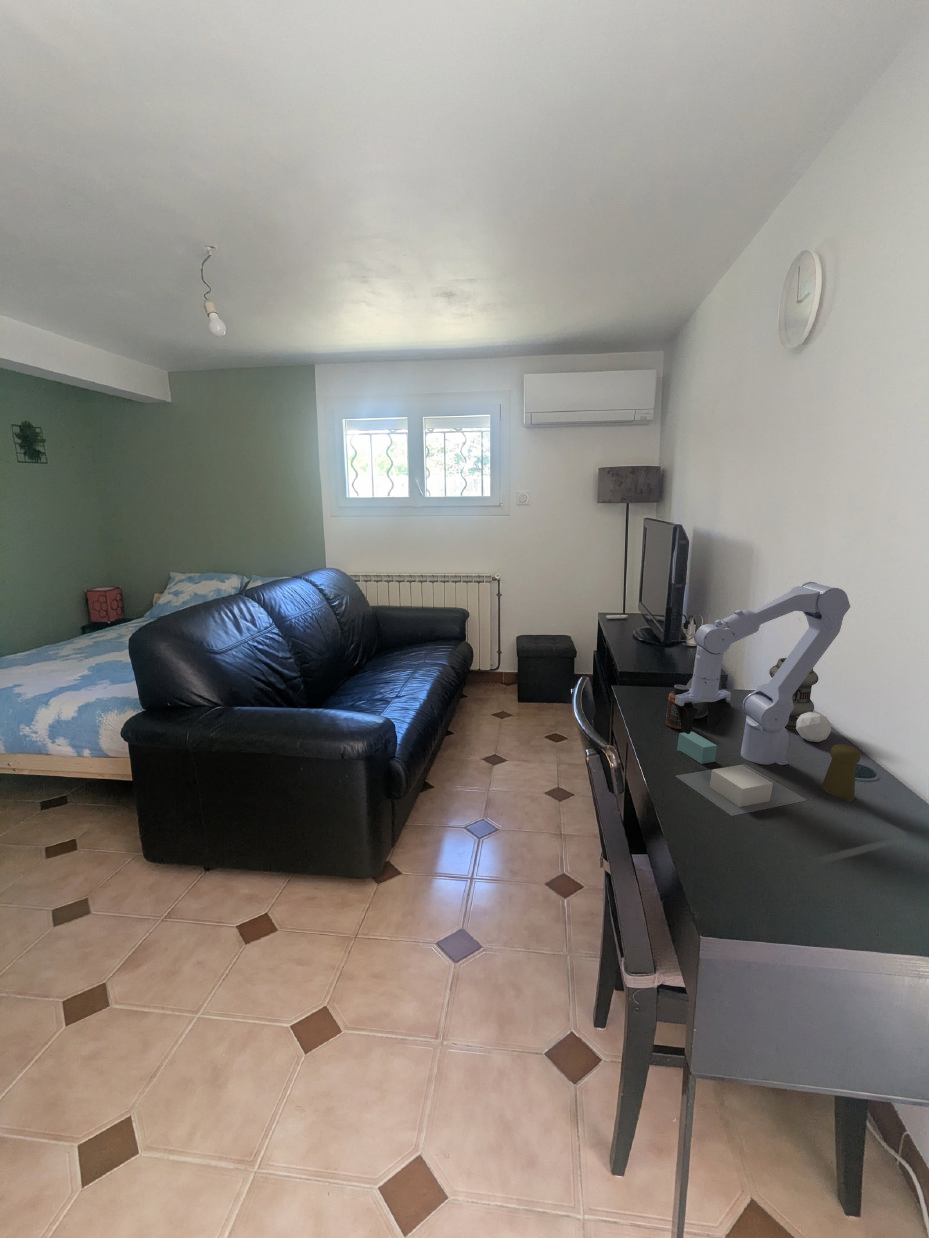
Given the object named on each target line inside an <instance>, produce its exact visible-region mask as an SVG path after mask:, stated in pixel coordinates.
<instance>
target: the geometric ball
mask: <svg viewBox="0 0 929 1238" xmlns="http://www.w3.org/2000/svg"><path fill="white" fill-rule="evenodd" d="M831 729H832V723H831V722H830V720H829V719H828V717H827V716H825V715H824V714H822V713H820V712H818V711H813V712H807V713H804V714H801V715H800V716H799V717H798V720H797V722H796V729H795V730H796V731H797V732H798V734H799V736H800V737H801V738H803V739H805V740H806V741H808V742H812V743H814V742H815V743H820V742H823V741H824V740H827V739H828V737H829V735H830V734H831V731H832V730H831Z"/></svg>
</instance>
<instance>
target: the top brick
mask: <svg viewBox="0 0 929 1238" xmlns="http://www.w3.org/2000/svg"><path fill="white" fill-rule="evenodd" d="M717 748H718V745H717V744H715V743H714V742H712V741H710V740H709V739H706V738H705V737H703V736H701V735H699V734H697V733H696V732H694V731H691V732H690V734H686V733H685V732H679V733H678V740H677V749H676V752H678V751H679V752H682V753H683V754H685V755H686V756H688V757H689V758H691V759H693V760H694V761H696V762H698V763H699V764H700V765H702V764H708V763H713V762H714V763H715V761H716V754H717Z"/></svg>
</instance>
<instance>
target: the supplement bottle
mask: <svg viewBox="0 0 929 1238" xmlns="http://www.w3.org/2000/svg"><path fill="white" fill-rule="evenodd" d="M689 689H690V688H689V687H688V686H686V685H685V684H674V686H673V691H671V692H670V693H669V694H668V698H667V699H668V700H667V709H666V714H665V715H666V717H665V725H666V726H667V727H670V728H672V729H675V730H682V729H681V722H680V717H679V714H678V711H677V708H676V706H675V698H676V695H680V694H683V693H686V692H689Z"/></svg>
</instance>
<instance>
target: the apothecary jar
mask: <svg viewBox="0 0 929 1238" xmlns="http://www.w3.org/2000/svg"><path fill="white" fill-rule="evenodd" d="M786 658H787V657H780V658H778V660H777V662H776V664H775V665H773V666H772V667H771V668H770V669H769V670H768V673H769V676H770V677H771V679H772V678H773V676H774V675H775V673H776V672H777V671H778V669H779V668H780V667H781V665H782V664H783V662H784V661H785V660H786ZM818 682H819V676H818V674H817V673H816V672H815V671H814V668H813V669H812V670H811V671H810V673H809V674H808V675H807V677H806V678H805V679H804V681H803V682H802V683H801V685H800V686H799V687H798V689H797V690H796V691H795V693H794V694H793V696H792V700H793V705H794V709H793V710H792V712H791V713H790V716H789V721H788V723H787V725H786V726H785V727H786V729H791V728H793V729H792V730H796V722H797V720H798V718H799V717H800V715H801V714H804V713H807V712H814V710H815V703H814V702H813V701H812V700H811V696H812V689H813V688H812V687H813V686H814V685H816V684H817V683H818ZM772 701H773V700H772Z"/></svg>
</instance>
